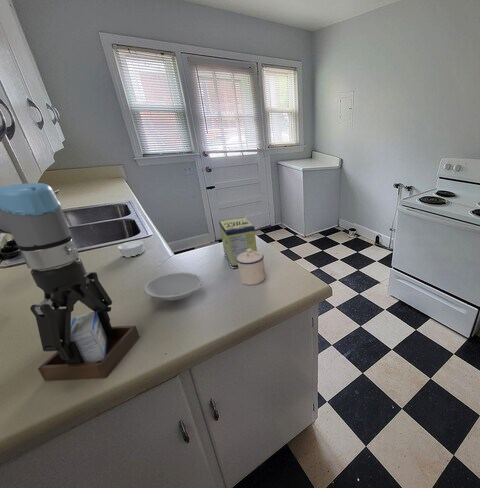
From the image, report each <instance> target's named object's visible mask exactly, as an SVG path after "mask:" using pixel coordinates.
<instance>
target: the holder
mask: <svg viewBox="0 0 480 488" xmlns="http://www.w3.org/2000/svg"><path fill="white" fill-rule="evenodd" d="M111 327H112V329H113V332H114V336H113V337H107V350H106V356H105V357H104V358H103V359H102V360H101V361H99V362H96V363H82V364H67V362H66V360H63V359H61V356H60V355H59V353H58V351H55V353H53V354H52V355H51V356H50V357H48V359H46V360H45V361H44V362H43V363H42V364H41V365H40V366H38V367H37V370H38V372H39V374H40V375H41V377H42V380H43V381H44V382H50V381H68V380H69V381H70V380H90V379H106V378H107V377H108V376H109V375H110V374H111V372H112V371H113V370H114V369H115V368H116V366H118V364H119V363H120V361H122V359H123V358H124V357H125V356H126V354H127V353H128V352H129V351H130V349H131V348H132V347H133V345H134V344H135V343H136V342H137V341H138V339H139V338H140V337H141V336H140V334H139V331H138V328H137V325H117V326H115V325H114V326H111Z"/></svg>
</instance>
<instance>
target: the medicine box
mask: <svg viewBox="0 0 480 488" xmlns="http://www.w3.org/2000/svg"><path fill="white" fill-rule="evenodd" d="M70 342H75V343H76V345H77V347H78V350H79V352H80V354H81V356H82V358H83V360H84V363H96V362H99V361H101V360H102V359H103V358H104V357H105V356H106V350H107V336H106V334H105V331H104V329H103V327H102V324H101V322H100V319H99V317H98V315H97V312H94V311H92V312H88V313H85V314H81V315H77V316H74V317H73V318H72V319H71V334H70Z"/></svg>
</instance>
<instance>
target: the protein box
mask: <svg viewBox="0 0 480 488" xmlns="http://www.w3.org/2000/svg"><path fill="white" fill-rule="evenodd" d="M218 224H219V229H220V236H221V241H222V248H223V254H224V253H225V254H224V256H225V255H226V256H225V258H226V257H227V258H226V260H227V259H228V260H229V262H230V264H231V266H232V267H238V262H237V260H236V259H237V256H238V255H239V254H241V253H243V252H246V250H247V249H252V251H258V247H257V246H258V245H257V239H256V229H255V228H256V227H255V226H254V225H253V224H252V223H251V222H250V221H249V220H247V218H246V217H245V216H242V217H241V216H240V217H235V218H227V219H221V220H218ZM228 260H227V261H228ZM229 262H228V263H229ZM230 264H229V265H230ZM231 266H230V267H231ZM232 267H231V268H232Z"/></svg>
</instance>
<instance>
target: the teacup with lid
mask: <svg viewBox="0 0 480 488" xmlns="http://www.w3.org/2000/svg"><path fill="white" fill-rule="evenodd" d="M236 260H237V262H238V268H237V270H238V275H239V282H240V283H241V284H243V285H246V286H255V285H258V284H260V283H262V282H263V281H265V278H266V274H265V272H266V271H265V263H264V254H263V253H262V252H261V251H258V250H257V251H252V249H247V250H246V252H243V253H241V254H239V255H238V256H237V259H236Z"/></svg>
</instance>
